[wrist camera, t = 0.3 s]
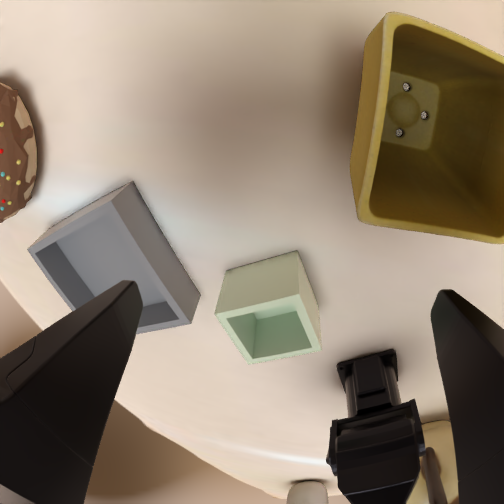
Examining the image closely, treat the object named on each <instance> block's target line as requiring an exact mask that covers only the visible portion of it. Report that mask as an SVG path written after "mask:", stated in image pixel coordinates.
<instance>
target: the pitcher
mask: <svg viewBox="0 0 504 504" xmlns="http://www.w3.org/2000/svg"><path fill="white" fill-rule="evenodd" d="M422 430H423V435H424V441H425V450H426V455H425V456H422V457H419V459H420V466H421V469H420V475H419V478H418V480H417V483H416V485H415V487H414V489H413V491H412V493H411V495H410V497H409V499H408V501H407V503H406V504H459V496H458V479H457V467H456V458H455V450H454V442H453V435H452V428H451V422H449V421H444V420H443V421H434V422H429V423H425V424H422Z"/></svg>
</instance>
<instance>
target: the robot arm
mask: <svg viewBox="0 0 504 504" xmlns="http://www.w3.org/2000/svg"><path fill="white" fill-rule="evenodd" d="M142 310H143V301H142V298H141V294H140V291H139V288H138V285H137V283H136V282H135V281H133V280H122V281H120V282H119V283H117V284H115V285H114V286H112V287H111V288H109V289H107V290H106V291H104V292H103V293H101V294H99V295H98V296H96V297H95V298H93V299H91V300H90V301H88V302H87V303H85V304H84V305H82V306H80V307H79V308H77V309H76V310H74V311H73V312H71V313H69V314H68V315H66V316H65V317H63V318H62V319H60V320H59V321H57V322H56V323H54V324H53V325H51V326H50V327H48V328H47V329H45V330H44V331H42V332H41V333H39V334H38V335H37V336H35V337H33V338H32V339H30V340H29V341H27V342H26V343H24V344H23V345H21V346H19V347H18V348H17V349H15V350H13V351H12V352H10V353H8V354H7V355H5V356H3V357H2V358H0V504H84V500H85V496H86V492H87V488H88V484H89V481H90V477H91V473H92V469H93V467H92V466H94V462H95V459H96V455H97V452H98V448H99V445H100V441H101V438H102V435H103V432H104V429H105V426H106V422H107V419H108V416H109V413H110V410H111V407H112V404H113V401H114V398H115V395H116V392H117V390H118V387H119V384H120V381H121V378H122V375H123V373H124V370H125V367H126V364H127V362H128V359H129V356H130V353H131V351H132V347H133V344H134V340H135V336H136V332H137V328H138V324H139V321H140V317H141V313H142ZM431 323H432V328H433V334H434V340H435V346H436V353H437V359H438V364H439V368H440V372H441V377H442V381H443V386H444V390H445V395H446V400H447V405H448V411H449V416H450V422H451V428H452V435H453V442H454V450H455V458H456V467H457V479H458V496H459V504H504V329H503V328H501V327H500V326H499V325H498V324H497V323H495V322H494V321H493V320H491V319H490V318H489V317H488V316H486V315H485V314H484V313H483V312H481V311H480V310H479V309H477V308H476V307H475V306H473V305H472V304H471V303H470V302H468V301H467V300H466V299H464V298H463V297H462V296H460V295H459V294H457V293H456V292H455V291H453V290H451V289H444V290H440V291H439V292H438V295H437V297H436V300H435V302H434V305H433V307H432V310H431ZM337 371H338V373H339V376H340V379H341V382H342V385H343V388H344V391H345V393H346V397H347V407H348V418H345V419H340V420H338V419H336V420H332V427H331V428H330V441H329V450H328V454H327V458H326V462H327V464H329V465H330V466H331V468H332V472H333V474H334V476H337V478H338V488H339V489H340V491H341V492H342V494H343V495H344V496H346V498H347V499H348V500H349V502H350V503H351V504H406V503H407V501H408V499H409V497H410V495H411V493H412V491H413V489H414V487H415V485H416V483H417V480H418V478H419V475H420V469H421V466H420V459H419V457H422V456H425V455H426V450H425V441H424V435H423V430H422V425H421V421H420V417H419V413H418V409H417V406H416V402H415V399H412V400H410V401H409V402H405V403H402V404H401V399H400V394H399V389H398V385H397V381H398V371H397V357H396V351H395V350H389V351H385V352H382V353H378V354H374V355H371V356H367V357H363V358H359V359H355V360H351V361H346V362H342V363H339V364H337Z"/></svg>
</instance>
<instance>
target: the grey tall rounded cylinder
mask: <svg viewBox="0 0 504 504" xmlns="http://www.w3.org/2000/svg"><path fill="white" fill-rule="evenodd" d="M287 504H328V494H327V489H326V487H325V486H324V485H323V484H322V483H319V482H314V481H304V482H300V483H297V484H295V485H294V486H293V487H292V488H291V489H290V491H289V493H288V497H287Z"/></svg>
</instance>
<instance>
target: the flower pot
mask: <svg viewBox="0 0 504 504" xmlns="http://www.w3.org/2000/svg"><path fill="white" fill-rule="evenodd" d="M404 83H408V84H409V85H410V90H409V91H405V90H404V89H403V84H404ZM423 111H425V112H427V114H428V117H427V119H422V117H421V113H422V112H423ZM398 129H402V130H403V135H402V136H401V137H398V136H397V135H396V131H397V130H398ZM350 175H351V181H352V187H353V193H354V199H355V205H356V212H357V217H358V219H359V221H361V222H363V223H365V224H369V225H374V226H381V227H388V228H395V229H401V230H409V231H417V232H424V233H431V234H437V235H444V236H451V237H457V238H463V239H469V240H475V241H480V242H485V243H491V244H504V56H502V55H500V54H498V53H496V52H494V51H492V50H490V49H488V48H486V47H484V46H482V45H480V44H478V43H476V42H474V41H471V40H469V39H467V38H465V37H463V36H461V35H459V34H456V33H454V32H452V31H449V30H447V29H445V28H442V27H440V26H437V25H435V24H432V23H429V22H427V21H424V20H422V19H419V18H416V17H413V16H410V15H407V14H403V13H398V12H388V13H386V15H385V16H384V17H383V19H382V20H381V21H380V22H379V23H378V24H377V26H376V27H375V28H374V29H373V31H372V32H371V33H370V35H369V36H368V38H367V40H366V42H365V46H364V57H363V70H362V81H361V91H360V99H359V107H358V115H357V122H356V129H355V135H354V142H353V147H352V152H351V158H350Z"/></svg>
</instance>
